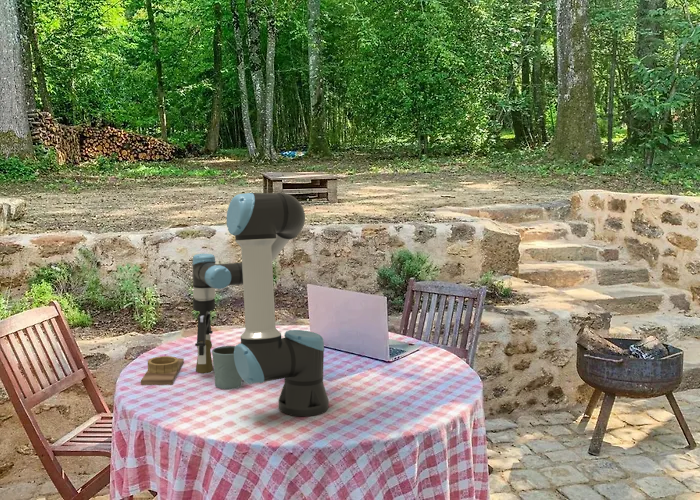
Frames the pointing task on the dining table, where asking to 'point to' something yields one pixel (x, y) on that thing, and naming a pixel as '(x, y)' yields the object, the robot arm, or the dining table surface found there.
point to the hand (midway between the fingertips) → (204, 357)
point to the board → (162, 370)
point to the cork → (208, 366)
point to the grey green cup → (225, 368)
